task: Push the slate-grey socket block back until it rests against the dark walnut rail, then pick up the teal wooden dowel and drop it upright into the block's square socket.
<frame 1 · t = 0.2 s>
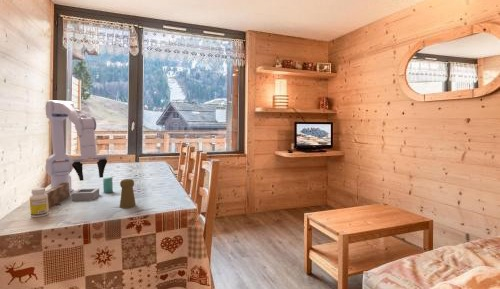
hand: (91, 178, 121), 10 cm above the table, tool pointing down, fingers open, 7 cm apart
socket block: (86, 198, 132), on the table
supplement bottle: (39, 215, 107), on the table
rail: (55, 201, 125), on the table
dowel: (108, 192, 142), on the table
cork: (127, 206, 118), on the table
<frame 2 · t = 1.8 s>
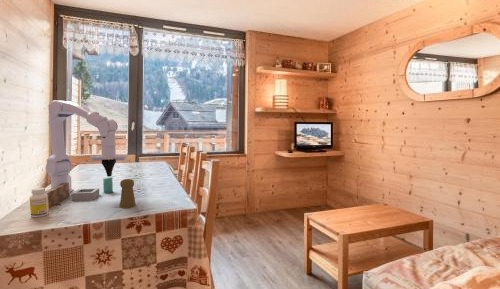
hand: (109, 176, 133), 9 cm above the table, tool pointing down, fingers closed
nothing on the table moved.
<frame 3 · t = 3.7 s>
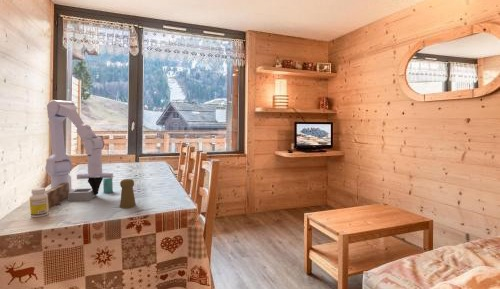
hand: (96, 194, 132), 1 cm above the table, tool pointing down, fingers closed
socket block: (82, 198, 131), on the table, touching gripper
everything else where it was.
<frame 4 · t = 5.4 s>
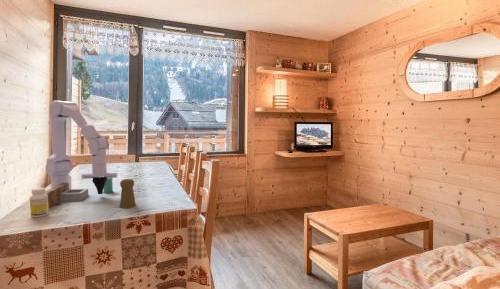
hand: (100, 193, 133), 1 cm above the table, tool pointing down, fingers closed
socket block: (74, 198, 131), on the table
everything else where it was.
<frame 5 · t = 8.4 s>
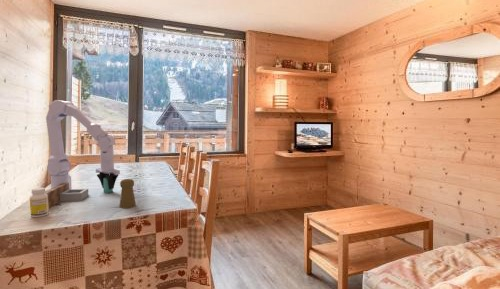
hand: (108, 188, 142), 2 cm above the table, tool pointing down, fingers closed on dowel, 4 cm apart
dowel: (108, 192, 142), on the table, touching gripper
everything else where it was.
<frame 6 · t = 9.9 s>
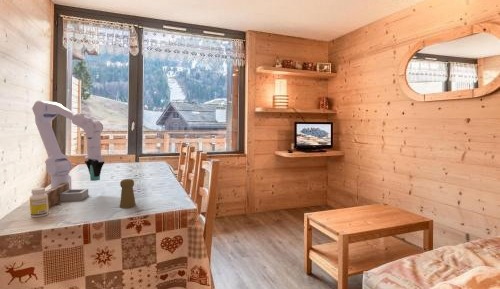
hand: (94, 175, 137), 9 cm above the table, tool pointing down, fingers closed on dowel, 4 cm apart
dowel: (95, 179, 137), point 7 cm above the table, touching gripper
everything else where it was.
when the fingers open (4 cm above the table, at t = 11.7 s): dowel drops 2 cm, resting on socket block.
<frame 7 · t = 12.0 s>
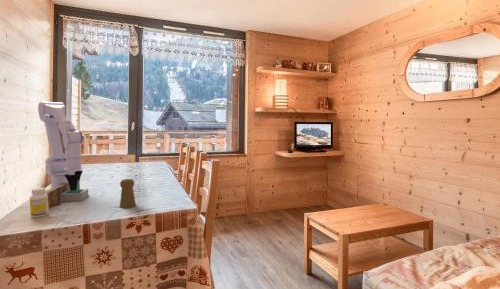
hand: (74, 188, 130), 4 cm above the table, tool pointing down, fingers open, 7 cm apart
socket block: (74, 199, 131), on the table, touching dowel
dowel: (75, 196, 131), point 1 cm above the table, touching socket block
everything else where it was.
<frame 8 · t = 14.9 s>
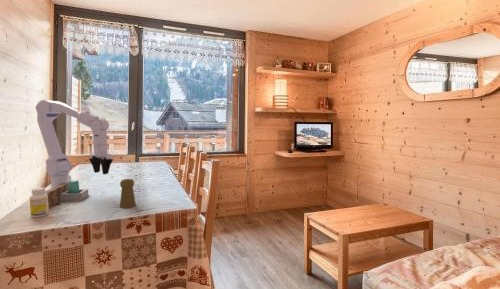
hand: (101, 173, 138), 10 cm above the table, tool pointing down, fingers open, 7 cm apart
nothing on the table moved.
at the end: socket block 0.1 cm from the target spot, on the table; dowel 0.1 cm off-centre on the socket block, point 1.1 cm above the socket block's base; dowel tilted 3° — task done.
